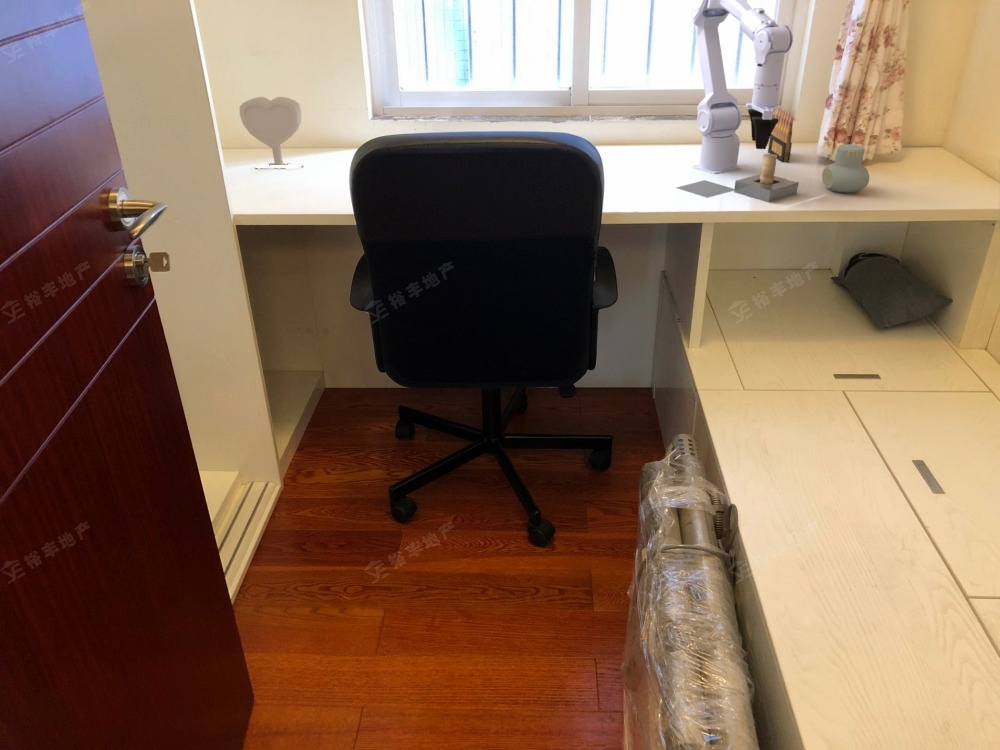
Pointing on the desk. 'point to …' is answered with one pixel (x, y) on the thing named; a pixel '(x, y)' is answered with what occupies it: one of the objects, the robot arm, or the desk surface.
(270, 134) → the heart sculpture
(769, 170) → the peg
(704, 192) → the mat
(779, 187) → the square hole block
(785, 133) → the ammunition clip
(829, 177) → the air freshener
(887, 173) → the desk surface
